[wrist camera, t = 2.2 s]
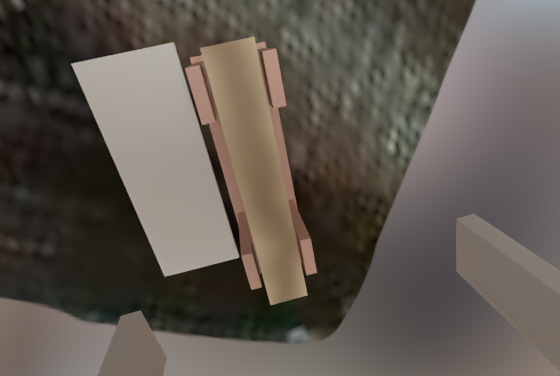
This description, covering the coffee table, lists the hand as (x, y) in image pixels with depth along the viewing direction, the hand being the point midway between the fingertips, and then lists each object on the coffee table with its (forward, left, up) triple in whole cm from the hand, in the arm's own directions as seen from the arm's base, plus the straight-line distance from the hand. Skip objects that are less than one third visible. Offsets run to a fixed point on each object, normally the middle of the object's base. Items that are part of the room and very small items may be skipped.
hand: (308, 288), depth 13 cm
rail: (-1, -1, -16) cm, 16 cm away
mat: (-10, -1, -23) cm, 25 cm away
